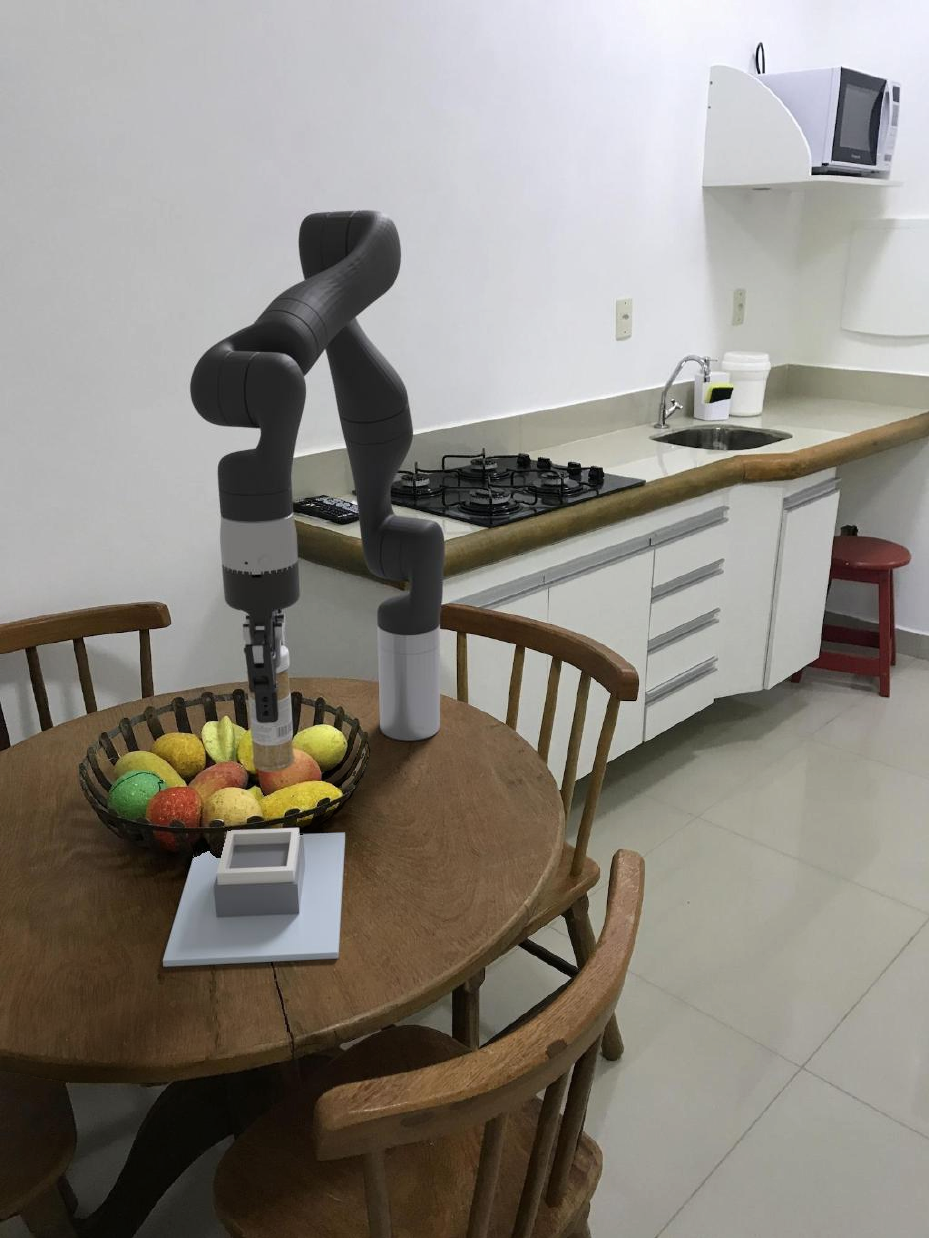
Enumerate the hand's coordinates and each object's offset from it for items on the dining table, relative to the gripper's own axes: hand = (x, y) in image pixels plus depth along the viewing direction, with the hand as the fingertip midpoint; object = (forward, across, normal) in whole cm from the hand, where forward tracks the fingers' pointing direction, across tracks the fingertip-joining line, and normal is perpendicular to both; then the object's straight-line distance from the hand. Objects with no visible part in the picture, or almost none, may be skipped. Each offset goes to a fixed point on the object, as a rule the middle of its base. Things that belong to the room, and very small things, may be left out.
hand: (269, 709), depth 104 cm
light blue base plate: (+24, 0, -2) cm, 24 cm away
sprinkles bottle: (+7, 0, 0) cm, 7 cm away
